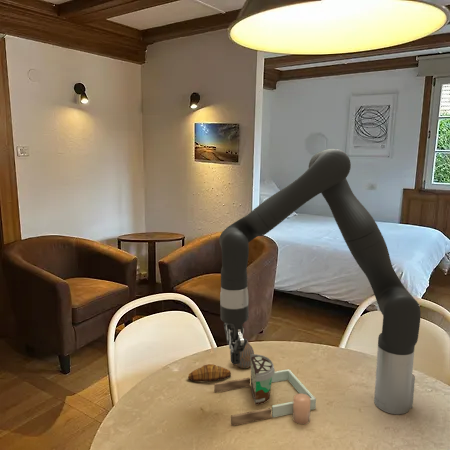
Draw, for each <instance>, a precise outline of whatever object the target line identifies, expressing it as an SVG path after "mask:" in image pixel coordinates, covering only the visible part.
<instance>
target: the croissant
mask: <svg viewBox="0 0 450 450" xmlns="http://www.w3.org/2000/svg"><path fill="white" fill-rule="evenodd" d="M231 376H232V372H231V370H229V369H227V368H226V367H222V366H217V364H214V363H213V364H210V363H208V364H204V365H202V366H201V367H198V368H197V369H194V370H192V371H191V372H190V373H189V374H188V376H187V379H188V381H191V382H197V383H201V382H204V383H211V382H217V381H222V380H225V379H228V378H231Z"/></svg>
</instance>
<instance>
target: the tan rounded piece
mask: <svg viewBox="0 0 450 450" xmlns="http://www.w3.org/2000/svg"><path fill="white" fill-rule="evenodd" d="M292 398H293V401H292V402H293V414H292V420H293V422H295V423H297V424H299V425H307V424H309V422H310V419H311V410H310V400H311V399H310V397H309V396H308V395H306V394H302V393H296V394H294V395H293V397H292Z"/></svg>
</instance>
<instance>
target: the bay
mask: <svg viewBox="0 0 450 450" xmlns="http://www.w3.org/2000/svg"><path fill="white" fill-rule="evenodd" d="M283 381H288V382H289V383H290V384H291V385H292V386H293V388H294V389H295V390H296V391H297V392H298V394H300V393H302V394H306V395H308V396H309V397H310V399H311V400H310V411H311V410H315V409H316V408H317V398H316V396H314V395H313V394H312V393H311V392H310V391H309V389H308V388H307V387H306V386H305V385H304V384H303V382H301V381H300V379H299V378H298V377H297V375H295V374H294V373H293V372H292V370H291V369H283V370H277V371H275V373H274V375H273V376H272V381H271V384H272V383H276V382H277V383H278V382H283ZM287 415H293V401H290V402H289V401H287V402H285V403H278V404H272V405H271V418H276V417H278V418H279V417H281V416H282V417H283V416H287Z"/></svg>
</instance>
